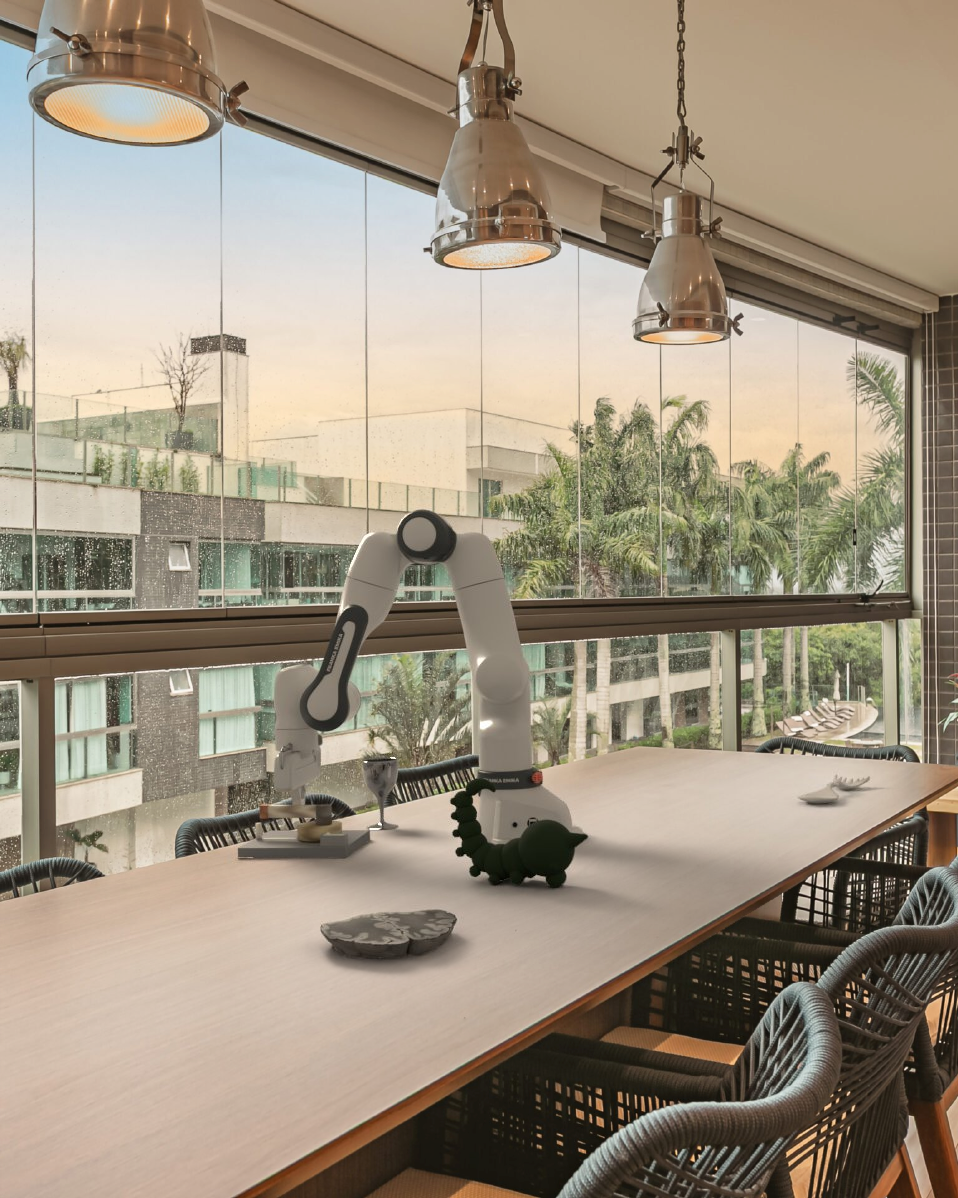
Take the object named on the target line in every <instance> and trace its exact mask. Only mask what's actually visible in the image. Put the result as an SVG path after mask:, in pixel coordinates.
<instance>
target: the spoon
mask: <svg viewBox="0 0 958 1198" xmlns="http://www.w3.org/2000/svg"><path fill="white" fill-rule="evenodd" d="M842 779H843V776H839V778H838V774H835V775H834V777H833V781H832V782H827V783H826V785H825V787H823V788H821V789H818V790H816V791H812V792H808V793H805V794H803V795H798V796H796V798H797V799H799V800H800V801H803V802H806V803H809V804H813V805H814V804H815V805H825V804H828V803H832V802H834V801H837V800H838V799H839V798H840V795H839V794H838V793H836V791H835V790H834V789H833V788H837V789H840V790H845V791H848V790H853V789H856V788H858V787H860V786H862V785H864V784H866V783H868V782H869V781H870V779H871V777H870V775H868V776H866V777H862V778H861V779H860V778H859V777H858V778H857V779H856V780H855V781H854V778H850V779H849V780H848V781H847V777H845V778H844V779H843V780H842Z"/></svg>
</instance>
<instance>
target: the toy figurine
mask: <svg viewBox="0 0 958 1198" xmlns="http://www.w3.org/2000/svg"><path fill="white" fill-rule="evenodd" d="M482 789H489V790H490V791H492V792H495V791H496V788H495V786H494V785H493V784H492V783H491V782H490V781H488V780H487V779H483V778H477V777H476V778H473V779H471V780H469V782H467V783H466V785H465V790H460V791H458V792H456V793H455V795H454V796H453V797H451V798H450V800H449V803H450V805H452V806H454V807H455V810H454V811H452V812H451V814H450V818H451V820H453V821H456V822H457V823H458V825H457V828H455V829H453V830H452V832H451V833H452V834H451V835H452V836H453V837H454V838H460V839H461V842H460V843H461V844H460V845H461V846H458V847H457V848H456V849H455V850H454V851H455V855H456V856H457V857H458V858H461V857H464V856H466V857H468V858H470V859H471V863H472V864H473V865H471V866H470V867H469V871H468V872H469V875H470V876H471V877H473V878H477V877H479V876H480V875H481V873H486V874H487V876H488V881H489V883H490V884H491V885H493V886H496V885H499V884H500V882H501V881H505V880H510V882H511V883H512V884H513V885H516V886H518V885H521V884H522V883H523V882H524V881H525V879H526V878H527V879H533V878H535V877H536V876H539V877H543V878H545V882H546V884H547V885H548V886H549V887H550V888H555V889H556V888H559V887H561V886H564V883H566V881H567V875H568V874H567V873H566V870H567V869H569V866H570V865H571V864H572V862H573V860H574V857H575V852H576V848H577V847H578V846H579V845H581V844H582V843H583V842H585V841H586V840H587V839H588V837H589V835H588V834H585V833H583V834H580V833H571V832H570V831H569V830H568V829H567V828H566V827H565V826H564V825H562V824H561V823H559V822H557V821H554V820H547V819H545V820H539V821H536V822H534V823H533V824H531V825H530V826H528V827H527V828H526V829H525V830H524V832H523V834H522V835H521V837H520V838H514V839H512V840H510V841H509V842H507V843H506V844H496V845H495V844H493V843H489V842H488V841H487V839H486V837H485V836H484V835H483V834H482V833H481V832H482V829H481V825H480V823H479V822H478V821H477V819H478V811H477V808H476V806H474V797H475V796H476V795H478V793H479V792H480V791H481V790H482Z"/></svg>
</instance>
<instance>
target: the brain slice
mask: <svg viewBox="0 0 958 1198" xmlns="http://www.w3.org/2000/svg"><path fill="white" fill-rule="evenodd" d="M457 921H458V918H457V917H456V914H453V913H452V912H447V911H446V910H442V909H425V910H424V909H421V910H415V911H380V912H376V913H374V912H373V913H368V914H367V913H366V914H359V915H357V916H353V917H349V918H347V919H343V920H336V921H332V922H331V921H329V922H326V923H323V924H320V932H321V934H322V936H323V937H324V938H325V939H326V940H327V942H328V943H330V944H331V945H332V946H333V948H334V949H335V950H336V952H337V953H338V954H339V955H340V956H346V957H348V958H365V959H366V958H368V959H369V958H370V959H385V960H390V959H391V960H392V959H393V960H394V959H397V958H399V959H400V958H404V957H406V956H407V955H408V956H423V955H427V954H428V953H431V952H434V951H435V950H437V949H438V947H441V946H443V945H444V944H445V942H446V941H447V940H448V938H449V937H450V935H452V932H453V930H454V928H455V927H454V926H455V925H456V924H457Z"/></svg>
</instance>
